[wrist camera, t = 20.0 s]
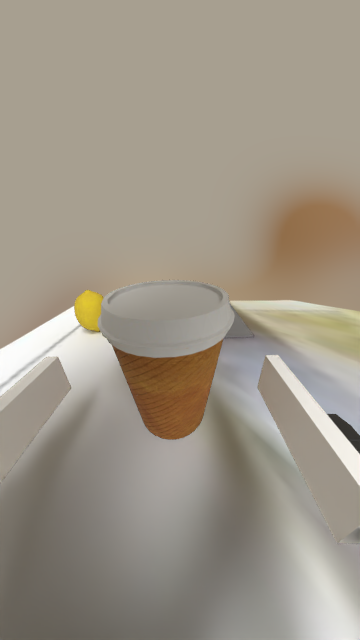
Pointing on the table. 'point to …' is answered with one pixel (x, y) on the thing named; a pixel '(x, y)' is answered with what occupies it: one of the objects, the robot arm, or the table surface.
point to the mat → (238, 328)
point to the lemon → (88, 309)
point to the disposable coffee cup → (167, 348)
